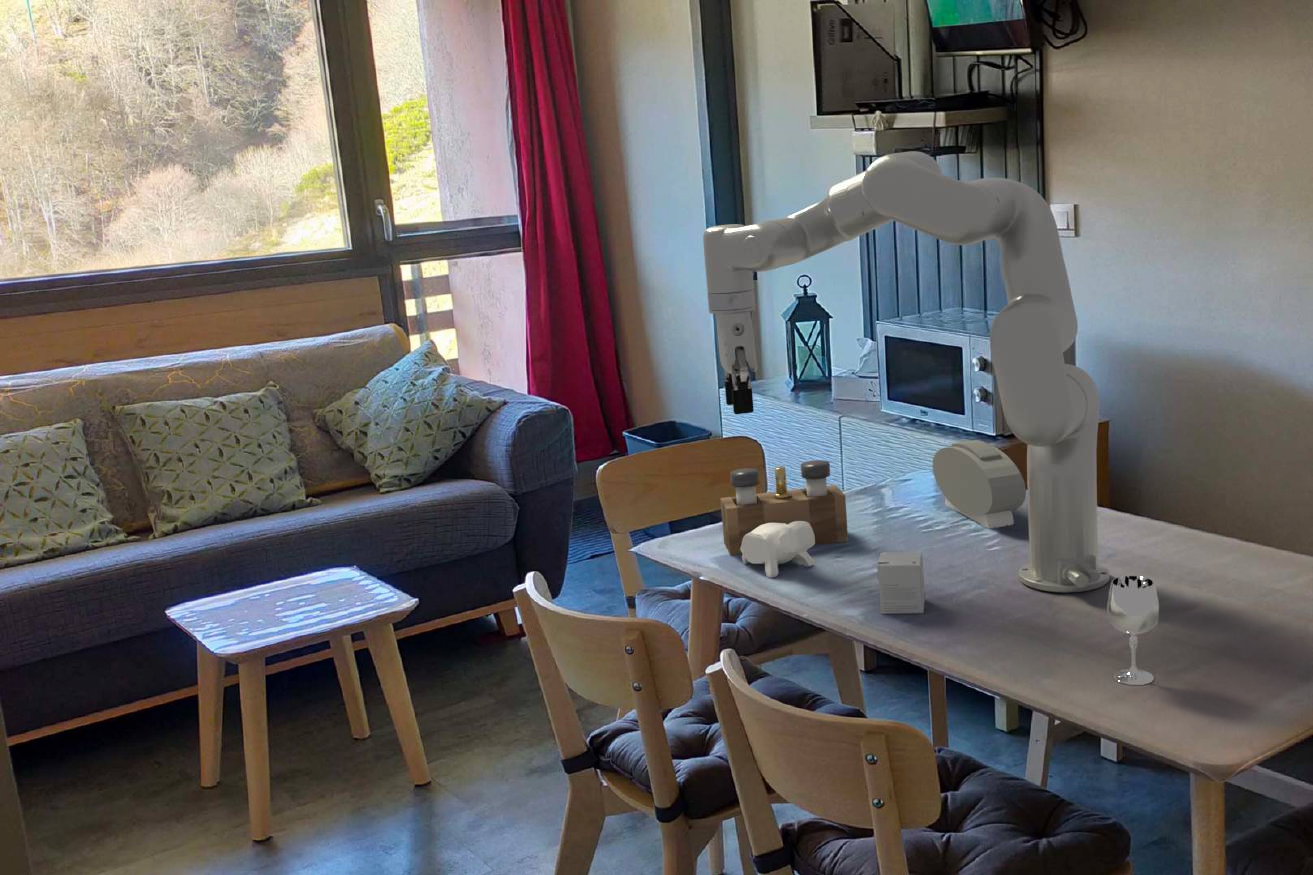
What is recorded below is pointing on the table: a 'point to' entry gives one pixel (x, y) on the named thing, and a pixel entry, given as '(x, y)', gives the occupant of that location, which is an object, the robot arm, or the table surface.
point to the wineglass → (1133, 618)
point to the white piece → (778, 545)
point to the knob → (815, 477)
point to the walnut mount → (786, 515)
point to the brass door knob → (781, 484)
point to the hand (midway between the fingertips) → (739, 407)
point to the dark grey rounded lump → (745, 485)
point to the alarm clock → (979, 482)
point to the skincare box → (901, 582)
